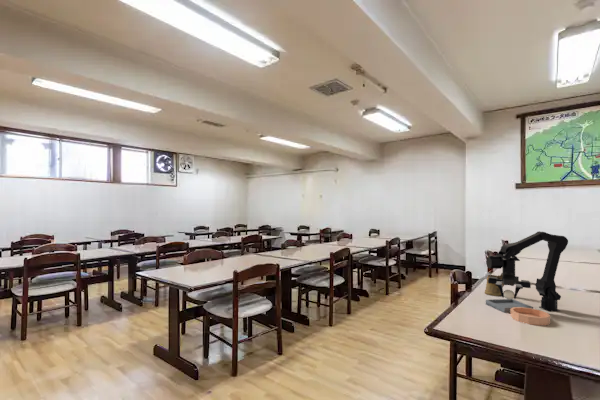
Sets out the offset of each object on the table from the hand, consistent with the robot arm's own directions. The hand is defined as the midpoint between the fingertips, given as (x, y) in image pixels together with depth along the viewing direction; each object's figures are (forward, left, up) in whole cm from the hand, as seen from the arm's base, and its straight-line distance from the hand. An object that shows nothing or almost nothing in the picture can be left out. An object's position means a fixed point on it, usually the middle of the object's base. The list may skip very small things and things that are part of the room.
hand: (508, 298), depth 171 cm
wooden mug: (-12, -24, -5) cm, 27 cm away
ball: (0, 0, +2) cm, 2 cm away
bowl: (+3, +17, -5) cm, 18 cm away
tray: (0, 0, -5) cm, 5 cm away
